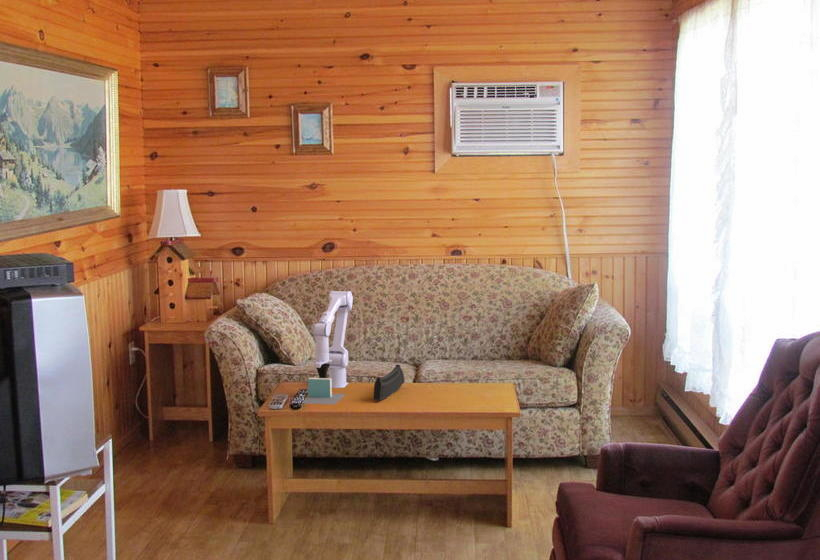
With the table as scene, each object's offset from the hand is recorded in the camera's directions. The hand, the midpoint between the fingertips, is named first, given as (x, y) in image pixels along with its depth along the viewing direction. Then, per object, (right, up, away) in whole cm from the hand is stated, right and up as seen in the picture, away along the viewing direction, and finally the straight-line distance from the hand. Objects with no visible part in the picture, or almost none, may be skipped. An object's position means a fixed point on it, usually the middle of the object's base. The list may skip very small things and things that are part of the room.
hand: (323, 380), depth 406 cm
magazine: (+29, -7, 0) cm, 30 cm away
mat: (-1, -7, -7) cm, 10 cm away
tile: (-1, -7, -4) cm, 8 cm away
